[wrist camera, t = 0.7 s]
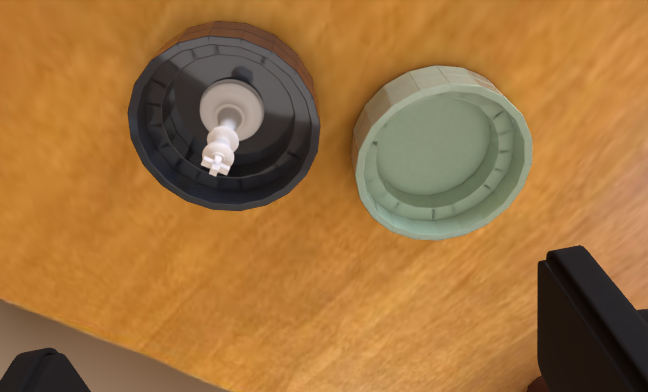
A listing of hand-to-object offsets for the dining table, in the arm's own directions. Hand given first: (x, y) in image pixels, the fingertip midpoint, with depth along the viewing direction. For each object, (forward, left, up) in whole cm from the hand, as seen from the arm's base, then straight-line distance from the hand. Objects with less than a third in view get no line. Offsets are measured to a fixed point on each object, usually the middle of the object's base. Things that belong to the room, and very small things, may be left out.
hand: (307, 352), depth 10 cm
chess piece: (+3, -8, -30) cm, 31 cm away
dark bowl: (+3, -8, -30) cm, 31 cm away
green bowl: (+14, +4, -30) cm, 33 cm away
